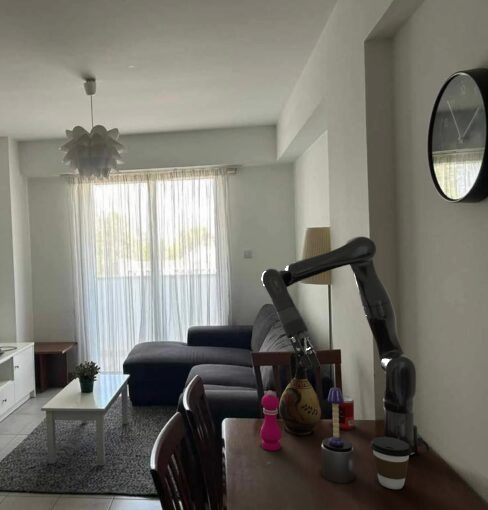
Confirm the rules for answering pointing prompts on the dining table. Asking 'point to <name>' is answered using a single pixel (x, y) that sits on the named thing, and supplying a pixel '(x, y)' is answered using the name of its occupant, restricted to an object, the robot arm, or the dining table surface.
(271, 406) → the pepper mill
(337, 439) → the toy lamp
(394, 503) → the dining table surface
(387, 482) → the coffee cup
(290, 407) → the ceramic jug
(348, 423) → the canned food
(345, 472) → the grey metal canister
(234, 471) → the dining table surface
